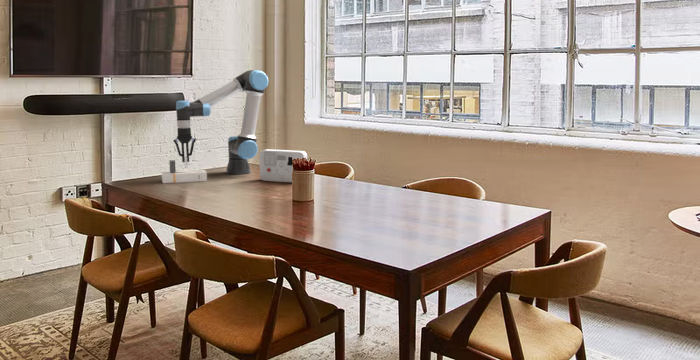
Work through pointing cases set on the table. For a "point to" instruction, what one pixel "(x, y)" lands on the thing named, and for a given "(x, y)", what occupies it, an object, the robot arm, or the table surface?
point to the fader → (172, 166)
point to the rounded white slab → (278, 164)
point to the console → (184, 176)
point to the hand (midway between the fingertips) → (186, 167)
